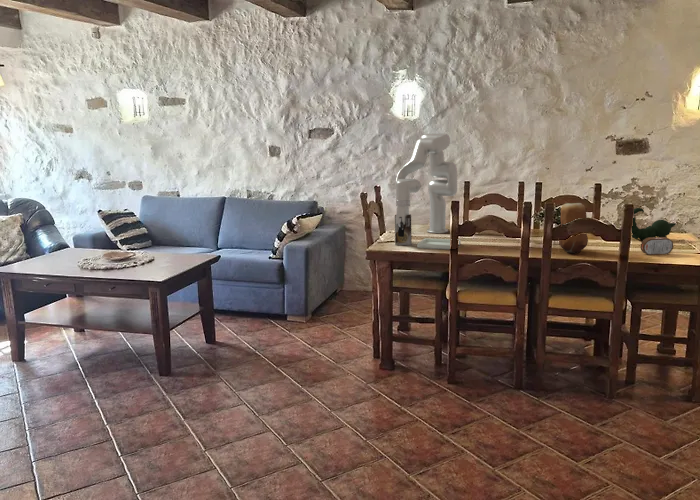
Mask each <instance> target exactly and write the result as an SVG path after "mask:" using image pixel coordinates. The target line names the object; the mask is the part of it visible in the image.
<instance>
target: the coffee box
mask: <svg viewBox="0 0 700 500" xmlns="http://www.w3.org/2000/svg"><path fill="white" fill-rule="evenodd" d="M401 224H403V223H402V221H401ZM412 237H413V236H412V214H410V213H409V215H407V216H406V223H405V225H404V237H399V236H398V224H396V214H395V215H394V245H395V246H412Z"/></svg>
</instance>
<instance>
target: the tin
mask: <svg viewBox="0 0 700 500" xmlns="http://www.w3.org/2000/svg"><path fill="white" fill-rule="evenodd" d="M673 249H674V241H673V240H672V239H671V238H669V237H649V238H646V239H644V240H642V241H641V244H640V251H641V252H642V253H643V254H646V255H647V256H660V255H661V256H662V255H664V256H665V255H666V256H667V255H668V254H670V253H671V252H672V251H673Z"/></svg>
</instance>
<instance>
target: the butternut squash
mask: <svg viewBox="0 0 700 500" xmlns="http://www.w3.org/2000/svg"><path fill="white" fill-rule="evenodd" d="M587 216H588V215H587V209H586V205H584V204H583V203H581V202H576V203H575V202H574V203H570V202H568V203H567V202H566V203H564V204H562V205H561V207H560V218H559V219H560V223H561V225H560V226H562V224H566V223H568V222H571V221H573V220H575V219H578V218H587ZM588 243H589V236H588V234H587V233H586V234H580V235H577V236H572V237H570V238H568V239H566V240H559V239H558V244H559V247H560V248H561V249H562V250H564V251H565V252H566V253H571V254H578V253H580V252H582V251H583V250H584V249H585V248H586V247H587V245H588Z"/></svg>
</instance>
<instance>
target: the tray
mask: <svg viewBox="0 0 700 500" xmlns="http://www.w3.org/2000/svg"><path fill="white" fill-rule="evenodd" d="M450 239H451V238H450ZM450 239H449V238H448V239H447V238H446V239H445V238H428V237H427V238H423V239H422V240H420V241H419V242H418V243H417V246H416V247H417V249H432V250H446V251H447V250H449V249H450ZM458 240H459V246H460V245H461V239H458ZM449 251H450V250H449Z"/></svg>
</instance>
